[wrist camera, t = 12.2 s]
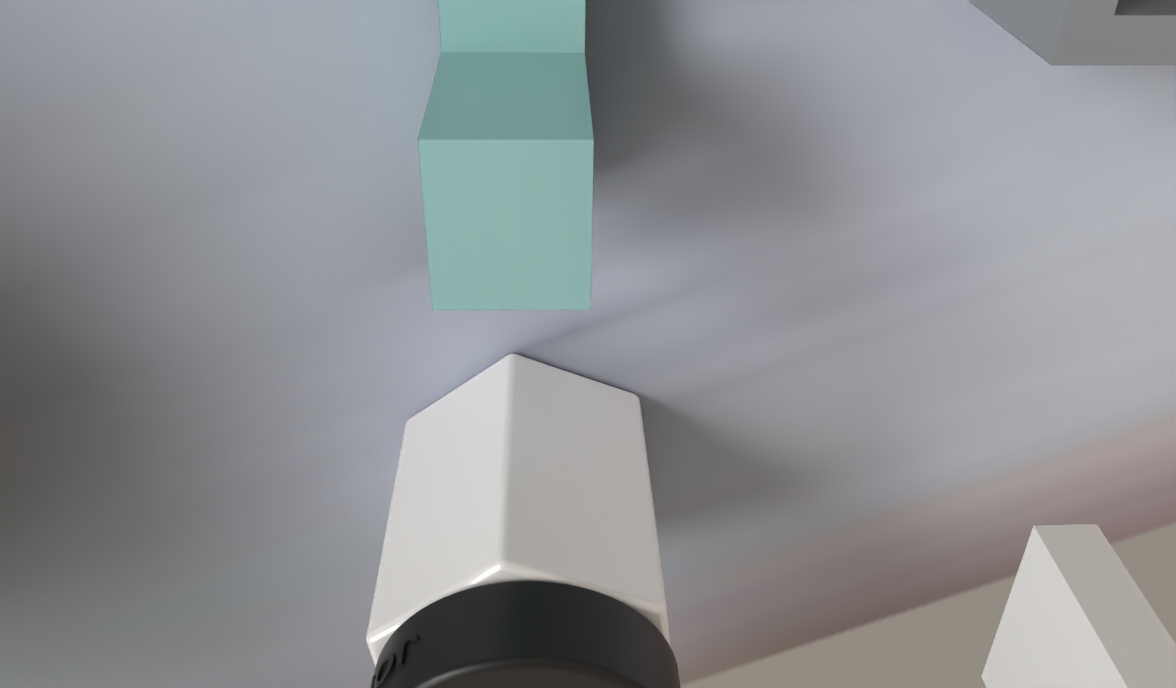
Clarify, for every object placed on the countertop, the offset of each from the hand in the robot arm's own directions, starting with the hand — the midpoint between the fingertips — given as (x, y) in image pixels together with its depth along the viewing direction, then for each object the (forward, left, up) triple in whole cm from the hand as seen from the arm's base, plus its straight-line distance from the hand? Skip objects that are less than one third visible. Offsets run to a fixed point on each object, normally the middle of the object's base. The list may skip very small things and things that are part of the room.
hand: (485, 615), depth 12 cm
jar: (0, -13, -19) cm, 23 cm away
